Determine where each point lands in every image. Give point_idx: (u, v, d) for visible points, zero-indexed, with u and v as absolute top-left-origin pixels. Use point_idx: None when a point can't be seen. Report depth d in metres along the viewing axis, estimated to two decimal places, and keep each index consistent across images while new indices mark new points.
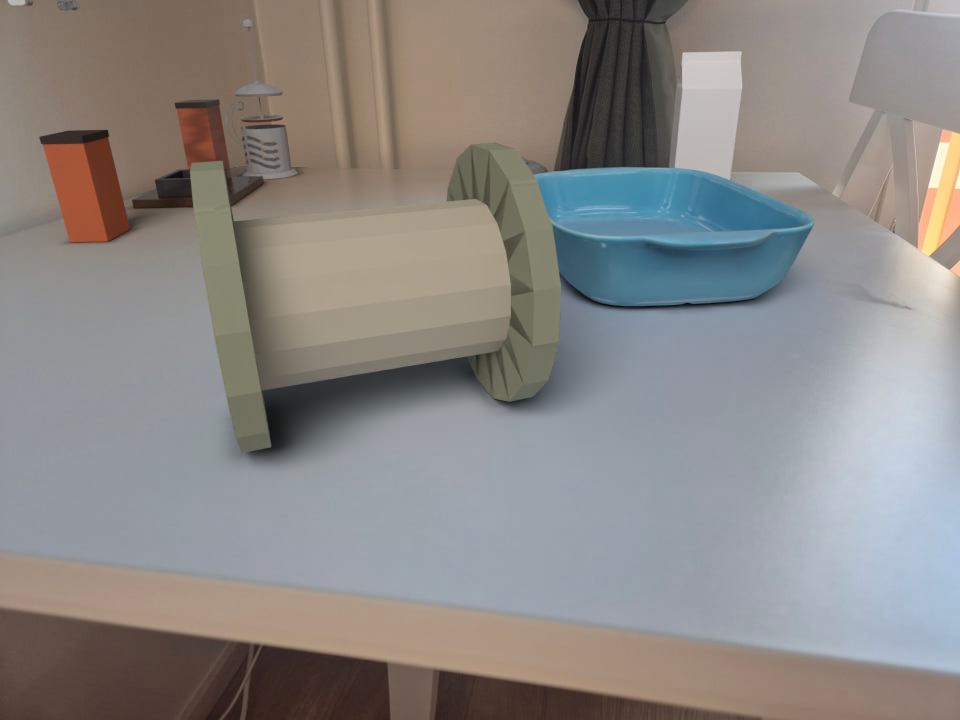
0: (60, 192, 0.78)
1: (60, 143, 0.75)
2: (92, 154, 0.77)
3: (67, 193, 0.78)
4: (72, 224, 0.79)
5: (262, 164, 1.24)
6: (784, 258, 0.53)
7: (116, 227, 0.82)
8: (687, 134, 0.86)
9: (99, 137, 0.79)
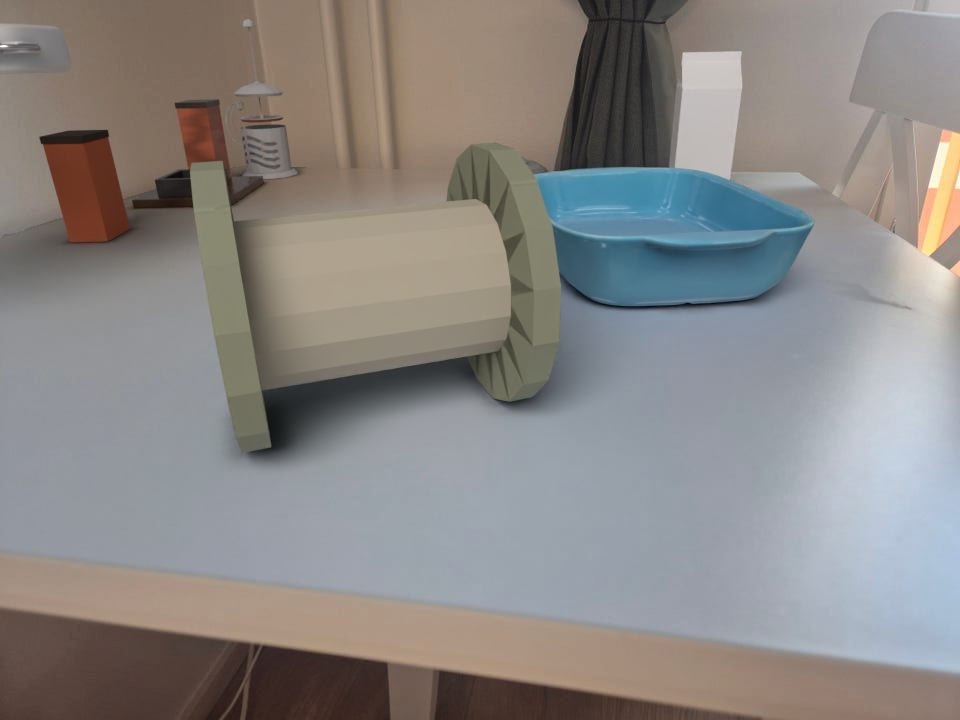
0: (60, 192, 0.78)
1: (60, 143, 0.75)
2: (92, 154, 0.77)
3: (67, 193, 0.78)
4: (72, 224, 0.79)
5: (262, 164, 1.24)
6: (784, 258, 0.53)
7: (116, 227, 0.82)
8: (687, 134, 0.86)
9: (99, 137, 0.79)
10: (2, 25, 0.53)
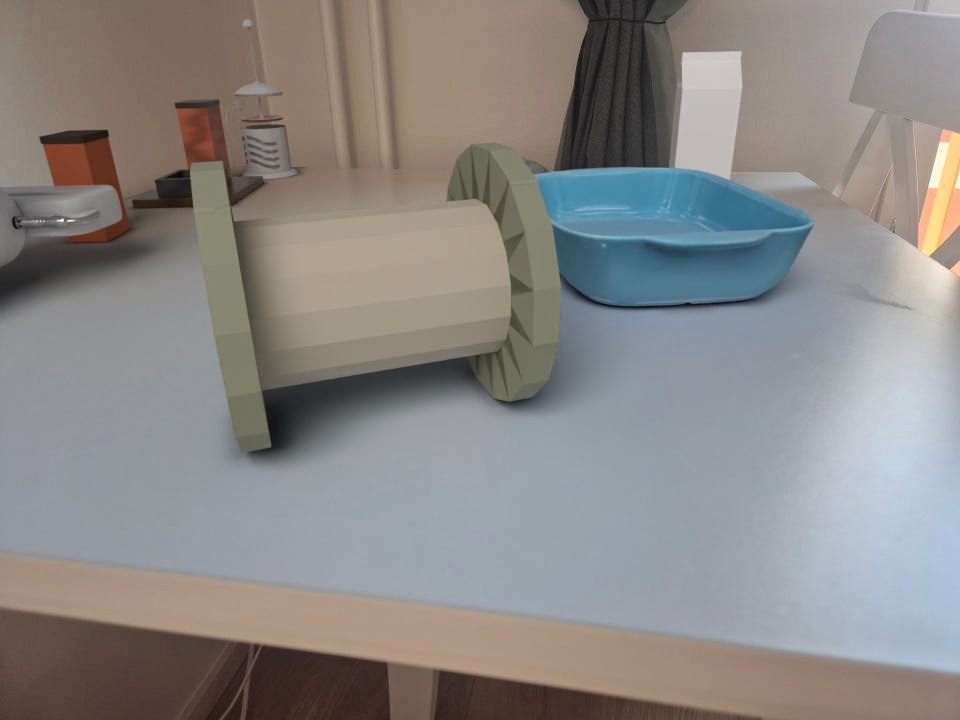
0: None
1: (60, 143, 0.75)
2: (92, 154, 0.77)
3: None
4: None
5: (262, 164, 1.24)
6: (784, 258, 0.53)
7: (116, 227, 0.82)
8: (687, 134, 0.86)
9: (99, 137, 0.79)
10: (69, 199, 0.62)
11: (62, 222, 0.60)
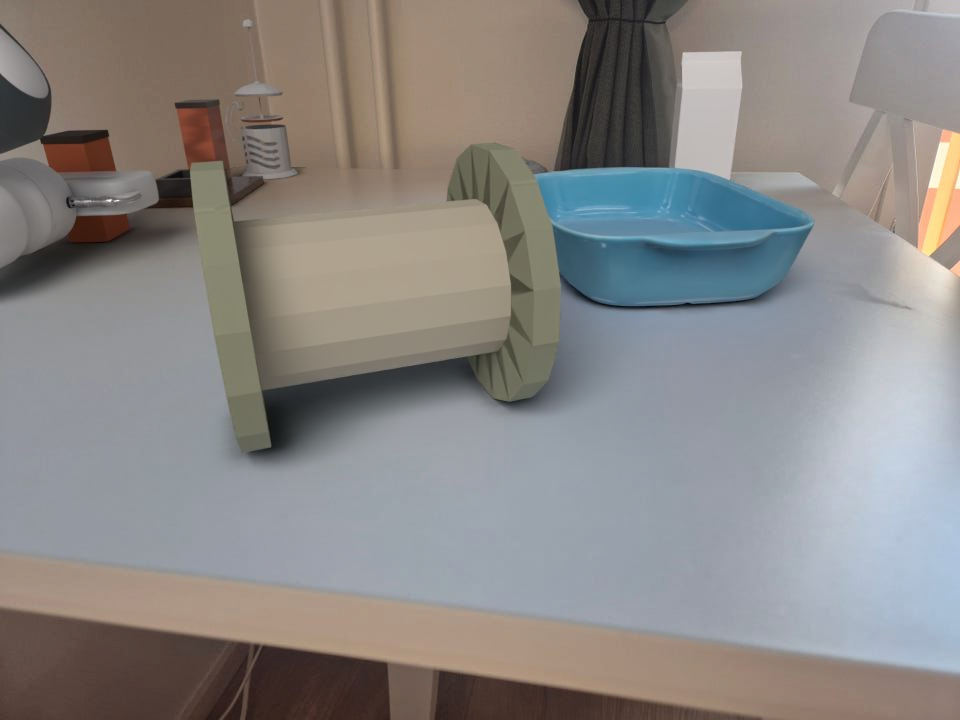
0: None
1: (60, 143, 0.75)
2: (92, 154, 0.77)
3: None
4: None
5: (262, 164, 1.24)
6: (784, 258, 0.53)
7: (116, 227, 0.82)
8: (687, 134, 0.86)
9: (99, 137, 0.79)
10: (115, 182, 0.70)
11: (110, 202, 0.69)
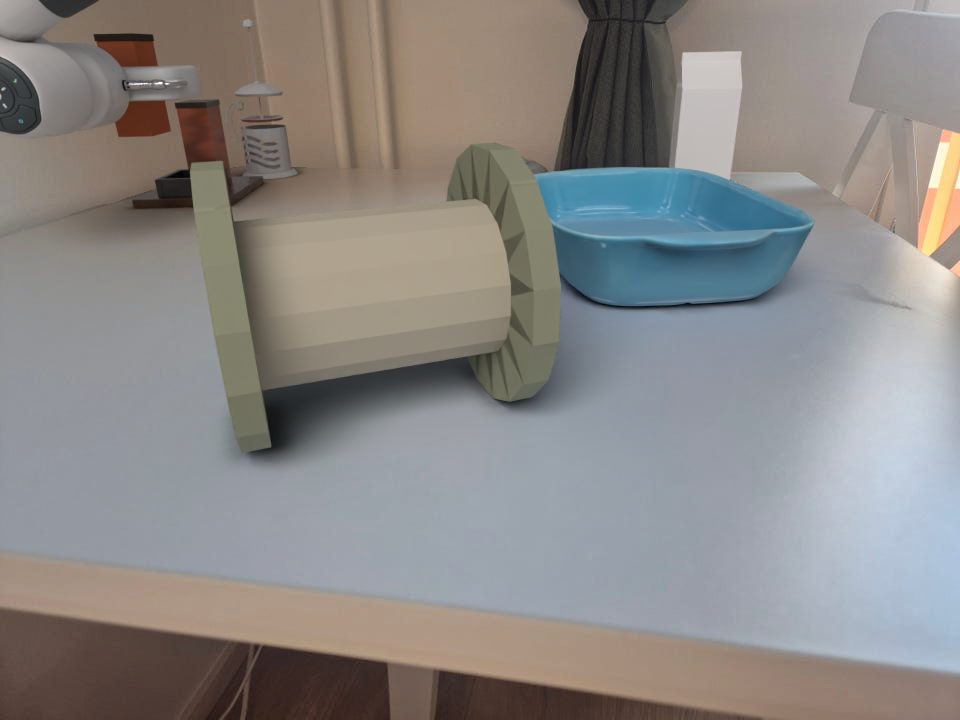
0: None
1: (112, 40, 0.83)
2: (140, 52, 0.84)
3: None
4: (121, 119, 0.86)
5: (262, 164, 1.24)
6: (784, 258, 0.53)
7: (159, 125, 0.89)
8: (687, 134, 0.86)
9: (146, 39, 0.86)
10: (165, 68, 0.77)
11: (161, 84, 0.76)
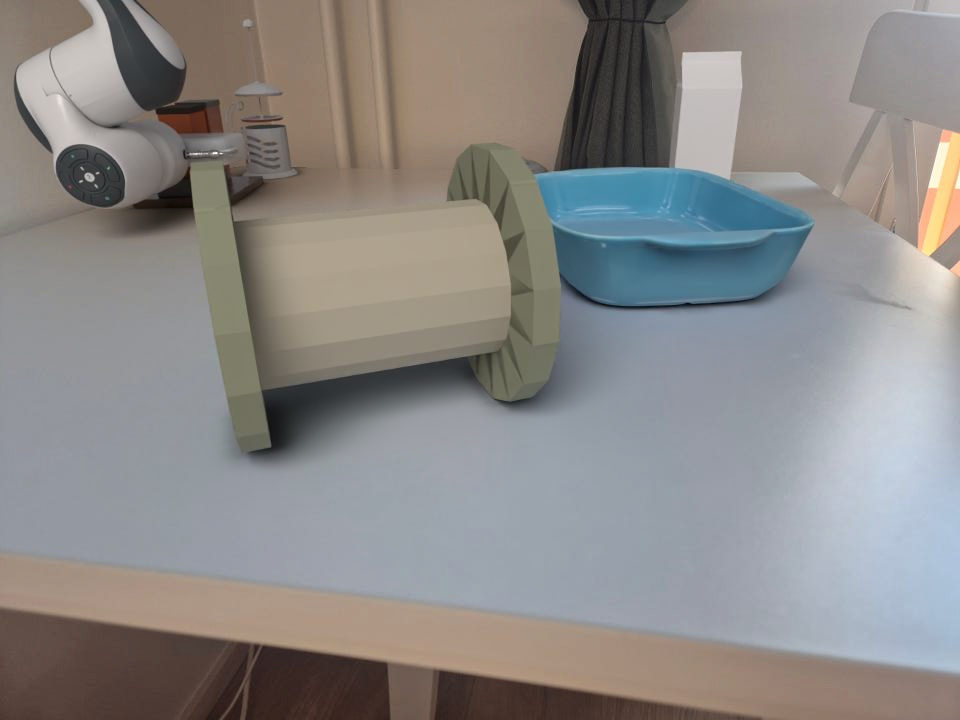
0: None
1: (171, 113, 0.95)
2: (194, 122, 0.97)
3: None
4: None
5: (262, 164, 1.24)
6: (784, 258, 0.53)
7: None
8: (687, 134, 0.86)
9: (198, 110, 0.98)
10: (219, 139, 0.89)
11: (217, 154, 0.88)
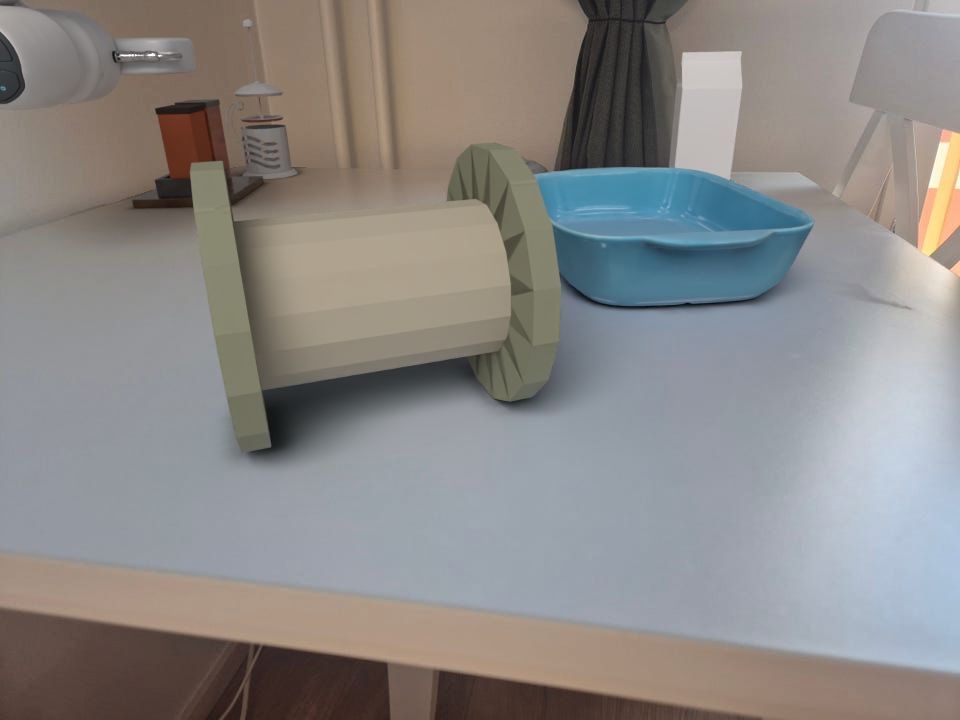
0: (168, 153, 0.97)
1: (171, 113, 0.95)
2: (194, 122, 0.97)
3: (174, 154, 0.97)
4: None
5: (262, 164, 1.24)
6: (784, 258, 0.53)
7: None
8: (687, 134, 0.86)
9: (198, 110, 0.98)
10: (158, 39, 0.72)
11: (154, 56, 0.71)
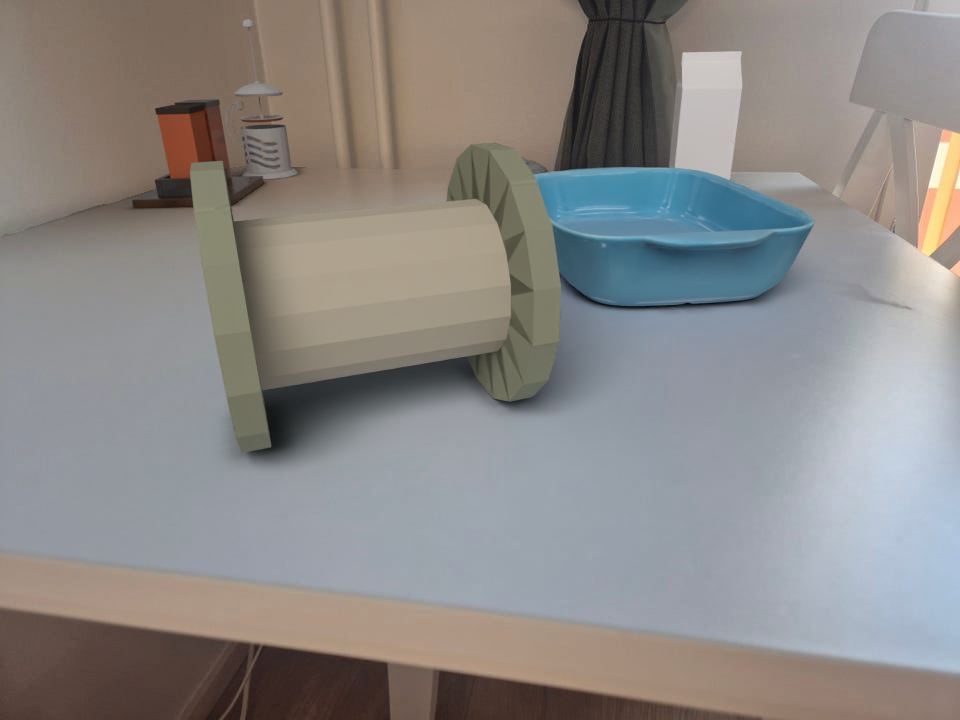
0: (168, 153, 0.97)
1: (171, 113, 0.95)
2: (194, 122, 0.97)
3: (174, 154, 0.97)
4: None
5: (262, 164, 1.24)
6: (784, 258, 0.53)
7: None
8: (687, 134, 0.86)
9: (198, 110, 0.98)
10: None
11: None
